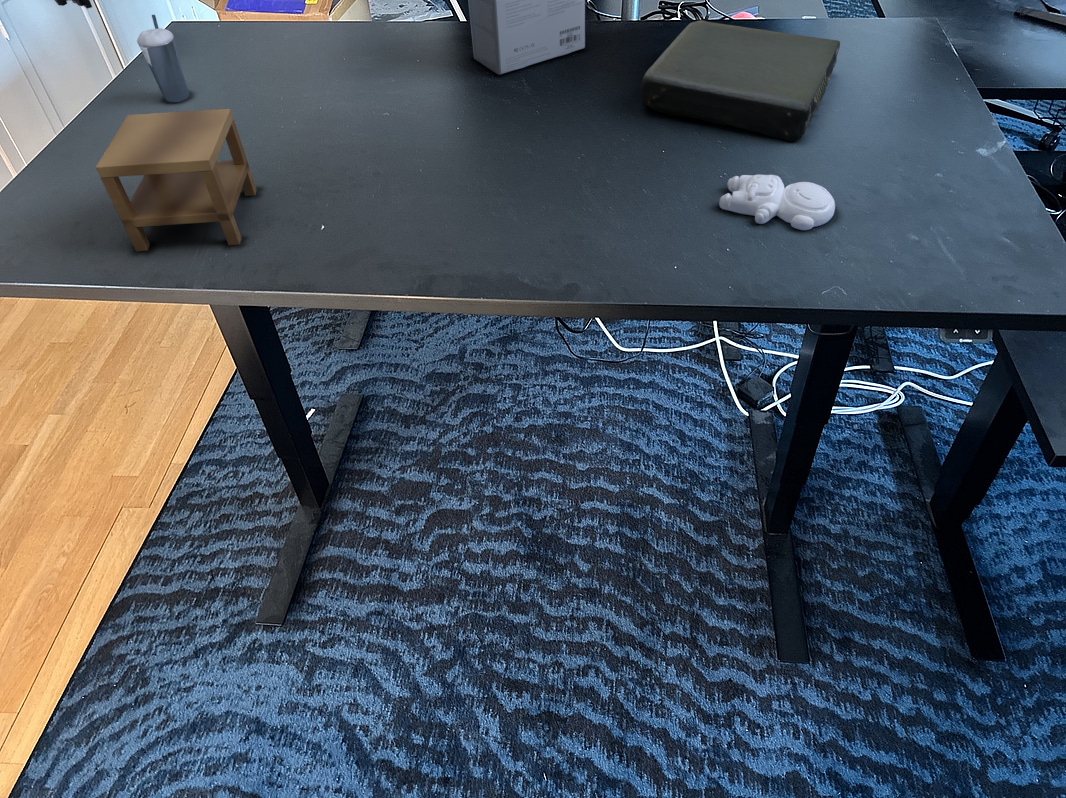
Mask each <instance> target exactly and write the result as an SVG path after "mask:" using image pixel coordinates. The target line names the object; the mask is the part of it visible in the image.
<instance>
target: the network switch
mask: <svg viewBox="0 0 1066 798" xmlns="http://www.w3.org/2000/svg"><path fill="white" fill-rule="evenodd" d="M840 48H841V41H840V40H837V39H831V38H830V39H829V38H822V37H815V36H810V35H809V36H808V35H800V34H794V33H788V32H780V31H774V30H767V29H762V28H761V29H760V28H753V27H745V26H739V25H732V24H726V23H725V24H724V23H719V22H712V21H706V20H703V19H701V20H696V21H693V22H689V23H688V25H687V26H686V27H685V28H684V29H683V30H682V31H681V32H680V33H679V34H678V35H677V36H676V38H675V39H674V40H673V41H672V42H671V43H670V45H669V46H667V48H665V50H664V51H663V52H662V53H661V55H659V57H658V58H657V59H656V61H654V63H653V64H652V65H651V66H650V67H649V68H648V69H647V70H646V72H645V73H644V75H643V77H642V79H641V86H640V96H641V100H642V103H643V104H645V105H646V106H648V107H649V109H650V110H654V111H655V112H656V113H662V114H665V115H666V114H668V116H671V117H672V116H674V117H679V116H680V117H683V118H685V117H686V118H691V119H695V120H696V119H697V120H700V121H703V122H706V123H713V124H715V125H720V126H725V127H727V126H732V127H734V128H738V129H743V130H747V131H749V132H752V133H759V134H760V135H765V136H767V137H772V138H776V139H781V140H785V141H788V142H789V141H790V142H796V141H798V140H800V139H801V138H802V137H803V136H804V134H805V133H806V130H807V128H808V126H809V125H810V123H811V122H812V120H813V118H814V115H815V113H816V112H817V111H818V109H819V107H820V105H821V101H822V100H823V97H824V95H825V92H826V90H827V87H828V83H829V81H830V80H831V76H832V74H833V71H834V69H835V67H836V64H837V62H838V60H837V59H838V54H839V51H840Z"/></svg>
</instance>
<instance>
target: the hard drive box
mask: <svg viewBox="0 0 1066 798" xmlns="http://www.w3.org/2000/svg"><path fill="white" fill-rule="evenodd" d="M467 3H468V13H469V21H470V33H471V39H472V40H471V44H472V51H473V53H472V54H473V59H474V60H475V61H477V63H479V64H481V65H483V66H484V67H486V68H487V69H489V70H490V71H492V72H493V73H495V74H496V75H498V76H501V75H503V74H506V73H510V72H513V71H517V70H520V69H524V68H526V67H529V66H532V65H535V64H538V63H541V62H545V61H548V60H551V59H554V58H558V57H562V56H565V55H569V54H571V53H573V52H578V51H580V50H583V49H585V48H586V0H467Z"/></svg>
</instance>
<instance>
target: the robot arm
mask: <svg viewBox="0 0 1066 798" xmlns="http://www.w3.org/2000/svg"><path fill="white" fill-rule="evenodd" d="M68 1H69V0H54V2H55V3H56V4H57V6H60V7H61V6H62V7H63V6H66V5H67V4H68ZM71 2H72V3H73V4H76V5H77V6H78V7H84V8H85V9H87V10H88V9H92V8H93V5H92V3H91V0H71Z"/></svg>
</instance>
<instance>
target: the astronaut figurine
mask: <svg viewBox="0 0 1066 798" xmlns="http://www.w3.org/2000/svg"><path fill="white" fill-rule="evenodd" d="M726 183H727V189H728V191H729V192H727V193H725V194H723V195H721V196H720V198H719V203H718V204H719V208H721V209H722V210H725V211H730V212H733V213H736V214H740V215H747V216H754V221H755V223H756V224H759V225H762V224H763V225H764V224H766V223H768V222H769V221H770V220H771V219H773V218H774V217H778V218H779V219H781V220H782V221H784V222H786V223H788V224H790V226H791V227H792V228H793V229H796V230H800V231H809V230H811V229H813V228H815V227H820V226H823V225H824V224H825V225H826V223H829V221H830V220H831V219H832V218H833V216H834V214H835V210H836V202H835V199H834V197H833V196H832V194H831V193H830V192H829V190H828V189H826V188H825V187H823V186H822V185H819V184H817V183H814V182H810V181H799V182H795V183H790V184H788V185H787V186H786V187H785V184H784V182H783V180H782V178H781V177H780V176H779V175H776V174H761V173H760V174H759V173H758V174H754V175H752V174H741V175H740V176H738V175H734V176H733V177H730V178H729V179H728V180H727V182H726ZM730 192H731V193H730Z"/></svg>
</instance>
